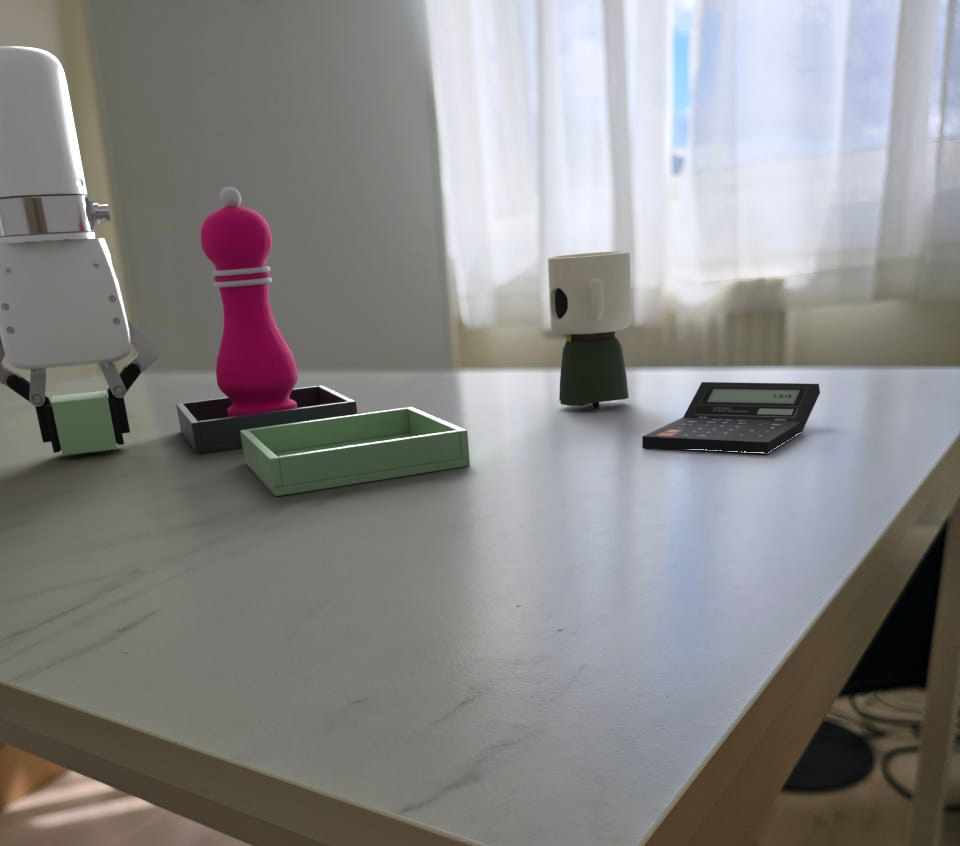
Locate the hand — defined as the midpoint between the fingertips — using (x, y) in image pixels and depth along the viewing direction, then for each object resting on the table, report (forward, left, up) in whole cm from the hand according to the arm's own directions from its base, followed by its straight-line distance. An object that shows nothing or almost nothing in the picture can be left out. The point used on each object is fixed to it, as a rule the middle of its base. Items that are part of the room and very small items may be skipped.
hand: (88, 443), depth 90 cm
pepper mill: (+15, -1, 0) cm, 15 cm away
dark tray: (+15, -1, -1) cm, 16 cm away
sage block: (0, 0, 0) cm, 0 cm away
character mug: (+43, -12, -1) cm, 45 cm away
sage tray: (+18, -21, -1) cm, 28 cm away
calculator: (+45, -31, -1) cm, 55 cm away
